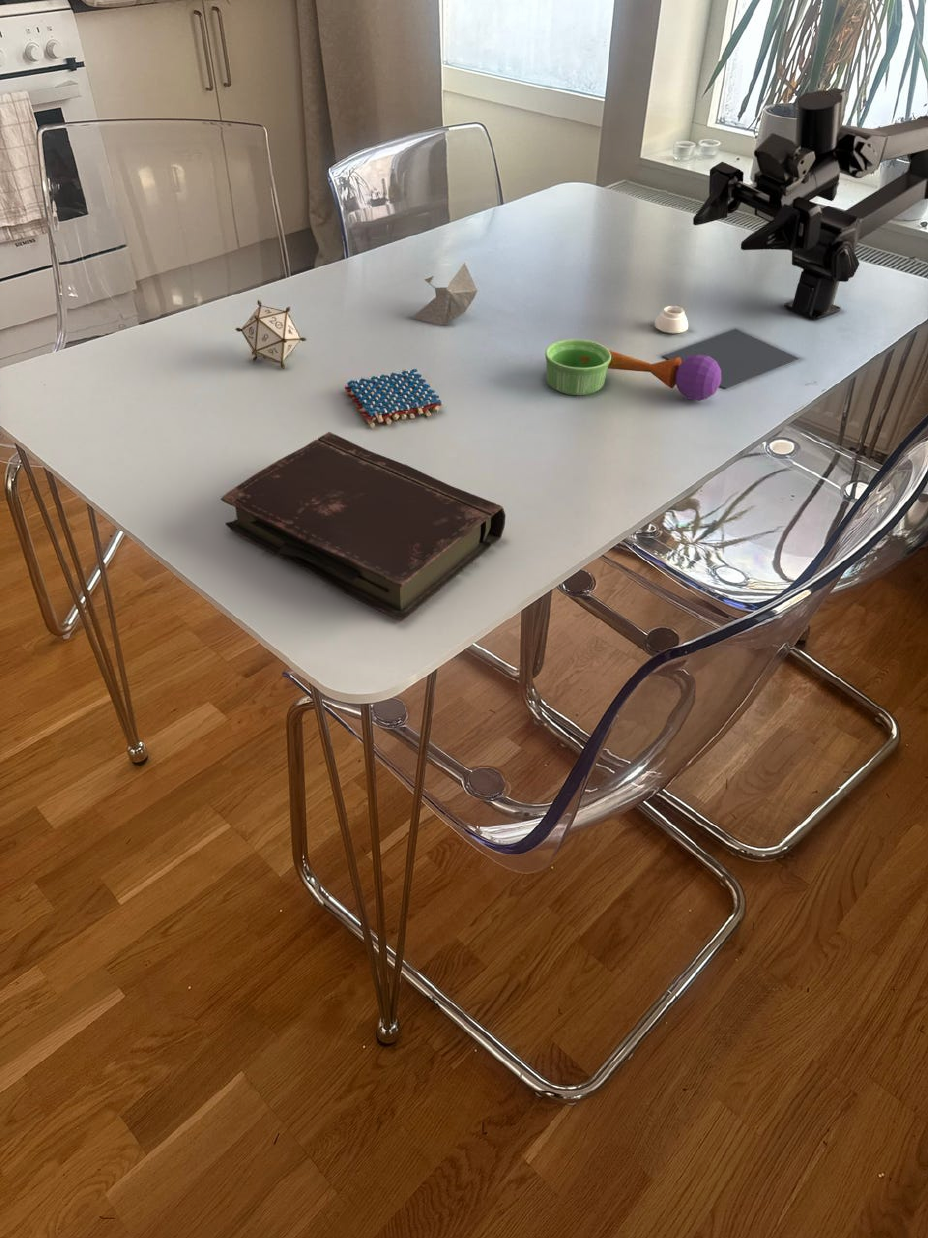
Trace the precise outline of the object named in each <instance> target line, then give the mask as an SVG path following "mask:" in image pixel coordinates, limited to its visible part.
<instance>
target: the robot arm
mask: <svg viewBox="0 0 928 1238" xmlns="http://www.w3.org/2000/svg"><path fill="white" fill-rule="evenodd" d="M846 93H847V91H846V90H845V89H842V88H838V87H835V86H833V87H832V88H830V89H829V90H828V89H827V90H826V89H824V90H823V89H822V90H815V91H811V92H805V93H803V94H801V95H800V96H799V97H798V99H797V101H796V116H795V117H796V118H795V119H796V121H795V139H794V140H795V141H793V140H790V139H789V138H786V137H784V136H781V135H779V134H776V133H774V132H772V133H770V134H769V135H768V136H767V137H766V138H765V139H764V140H763V141H762V142H761V143H760V144H759V146H757V147H756V149H754V150H753V156H754V157H755V158H756V162H757V166H758V171H756V172H754V177H753V183H755V184H756V185H755V186H752V185H750V184H748V183H745V182H744V174H745V173H744V171H742V170H741V169H740V168H737V167H735V166H733V165H731V164H728V163H726V162H724V161H721V162H719V163H717V164H715V165H714V166H712V167H711V168H710V169H709V181H708V182H709V185H708V197H707V199H705V201H704V203H703V204H702V205H701V207H700V208H699V209H698V210H697V212H696V213H695V215H694V216H693V218H692V225H694V226H699V225H704V224H708V223H712V222H716V221H719V220H722V219H725V218H726V219H727V217H728V214H733V213H735V212H736V211H738V209H739V207H740V206H741V204H743V205H746V206H748V207H751V208H753V209H754V213H753V215H754V216H755V217H757V218H760V219H762V220H763V221H765V222H767V223H765V224H764V225H763V226H761V227H759V228H758V229H756V230H755V231H754V232H753V233H751V234H750V235H748V236H747V237H746V238H745V239H743V240H742V241H741V242H740V250H742V251H759V250H761V251H762V250H765V251H766V250H776V251H777V250H781V251H782V250H783V251H790V252H791V266H794V267H798V268H800V269H802V271H801V273H800V276H799V279H798V283H797V284H796V285H797V286H796V288H795V293H794V297H793V299H792V300H789V301H787V302H785V303H784V305H783V307H784V308H786V309H789V310H790V311H793V312H795V313H798V314H800V315H803V316H804V317H807V318H809V319H811V320H814V321H818V320H820V319H823V318H826V317H828V316H831V315H833V314H836V313H838V312H840V311H841V307H840V306H838V305H836V304H834V302H835V299H836V296H837V291H838V288H839V284H840V282H843V283H846V282H847V283H848V282H849V279H851V278H853V277H854V276H855V274H856V272H857V270H858V268H859V266H860V261H859V259H858V257H857V255H856V252H855V251H856V248H857V246H858V243H859V241H861V239H864V238H865V237H867V236H868V235H870V234H872V232H874V231H876V230H877V229H879V228H880V227H883V225H885V224H887V223H888V222H890V221H891V220H893V219H894V218H896V217H898V216H899V215H900V214H902V213H903V212H905V211H908V209H910V208H912V207H913V206H915V205H916V204H917V203H919V202H921V201H922V200H923V201H924V200H928V114H927V115H926V114H925V115H920V116H919V117H917V118H915V119H911V120H906V121H902V122H897V123H894V124H893V123H892V124H889V125H884V126H879V127H875V128H867V127H861V126H856V125H847V124H846V125H845V124H843V120H844V119H843V118H844V109H845V102H846V95H847V94H846ZM901 157H907V159H908V166H907V169H906V171H905V172H904V173H902V174H900V175H899V176H898V177H895V178H894V179H893V180H891V181H890V182H887V183H886V184H885V185H883V186H882V187H880V188H879V189H877V190H876V191H874V192H872V193H871V194H870V195H868V196H866V197H865V198H863V199H861V200H860V201H858V202H857V203H855V204H854V205H852V206H850V207H849V208H847V209H845V210H844V211H843V210H841V209H838V208H835V207H833V206H830V205H826V206H824V207H821V206H820V205H818V204H817V203H815V202H812V201H811V200H813V199H815V198H817V197H819V198H822V199H823V200H827V201H830V202H833V201H834V200H835V198H836V197H837V195H838V194H837V192H838V187H839V185H840V176H841V174H842V175H845V176H847V177H851V178H854V179H862V178H863V177H866V176H868V175H870V174H872V173H875V172H876V171H877V170H878V169H879V168H880V166H881V164H882V163H884V162H886V161H889V160H890V161H891V160H894V159H896V158H897V159H898V158H901Z"/></svg>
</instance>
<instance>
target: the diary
mask: <svg viewBox="0 0 928 1238" xmlns="http://www.w3.org/2000/svg"><path fill="white" fill-rule="evenodd" d="M220 501H222V502H223V503H225V504H227V505H229V506H232V507H233V508H234V509H235V514H236V519H234V520H233V521H229V522H225V525H226V527H228V528H229V530H230V531H232V532H234V533H236V534H237V535H239V536H241V537H243V539H246V540H248V541H249V542H251V543H253V544H255V545H256V546H258V547H260V548H262V549H264V550H266V551H267V552H269V553H271V554H273V555H275V556H278V557H279V558H282V559H283V560H286V561H288V562H290V563H293V564H294V565H296V566H298V567H300V568H303V569H305V570H307V571H308V572H310V573H312V574H313V575H315V576H317V577H318V578H320V579H322V580H324V581H325V582H327V583H328V584H330V585H331V586H333V587H335V588H337V590H340V591H342V592H343V593H345V594H346V595H348V596H350V597H351V598H353V599H355V600H356V601H360V602H362V603H364V604H365V605H368V606H370V607H372V608H374V609H377V610H378V611H381V612H382V613H385V614H387V615H389V616H390V617H393V618H395V619H397V620H399V621H401V622H403V621H404V620H406V619H407V618H408V617H409V616H410V615H412V614H413V613H414V612H415V611H416V610H418V609H419V608H420V607H421V606H422V605H424V603H426V602H427V601H428V600H430V598H432V597H433V596H434V595H436V594H437V593H438V592H439V591H440V590H441V589H442V588H444V587H445V586H446V585H447V584H449V582H451V581H453V579H454V578H456V577H457V576H458V575H459V574H460V573H462V572H463V571H464V570H465V569H466V568H468V567H469V566H470V565H472V564H473V563H474V562H475V561H476V560H477V559H478V558H479V557H481V556H482V555H484V554H485V553H486V552H487V551H488V550H489V549H490V548H491V547H492V546H494V545H495V544H496V543H497V542H498V541H500V540H501V538H502V537H503V534H504V530H505V526H506V511H505V510H504V507H503V506H502V505H501V504H499V503H496V502H493V501H491V500H487V499H485V498H483V497H480V496H478V495H475V494H473V493H470V492H467V491H465V490H463V489H461V488H457V487H455V486H453V485H450V484H448V483H447V482H444V481H441V480H439V479H437V478H435V477H433V476H431V475H429V474H427V473H425V472H423V471H420V470H418V469H416V468H414V467H411V466H409V465H407V464H404V463H401V462H399V461H396V460H394V459H391V458H389V457H387V456H383V455H381V454H378V453H376V452H374V451H371V450H369V449H366V448H364V447H362V446H360V445H359V444H356V443H354V442H351V441H349V440H348V439H345V438H343V437H342V436H339V435H337V434H335V433H333V432H330V431H328V432H326V433H325V434H323V435H321V436H319V437H318V438H317V439H314V440H312V441H311V442H309V443H308V444H306V445H304V446H303V447H301V448H299V449H297V450H295V451H293V452H291V453H290V454H288V455H286V456H284V457H281V458H280V459H278V460H276V461H275V462H273V463H271V464H270V465H268V466H267V467H265V468H263V469H261V470H260V471H258V472H257V473H255V474H253V475H252V476H250V477H249V478H247V479H246V480H244V481H243V482H241V483H239V484H238V485H236V486H235V487H233V488H232V489H231V490H229V491H228V492H226V493H225V494H224V495H223V496H222V497H221V498H220Z"/></svg>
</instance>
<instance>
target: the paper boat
mask: <svg viewBox="0 0 928 1238" xmlns="http://www.w3.org/2000/svg"><path fill="white" fill-rule="evenodd" d="M434 277H435V276H434V275H432V276H430V277H427V278H424V281H425V282H426V283H427V284H429V285H430V286H431V287H433V288H434V292H435V297H434V298H433V299H432V300H431V301H430V302H428V303H427V304H426V305H425V306H423V308H421V309H420V310H419V311H418V312H416V313H415V314H414V315H412V317H411V319H413V320H417V321H422V322H425V323H429V324H434V325H438V326H443V327H444V326H445V325H448V324H449V323H451V322H452V321H454V320H456V319H457V318H458V317H460V316H462V314H465V313H466V311H467V310H468V308H469V307H470V306H471V304H472V302H474V299H475V298H476V295H477V293H478V291H479V290H478V288H477V286H476V284H475V282H474V280H473V277H472V276H471V273H470V271H469V269H468V266H467V265H466V263H465V262H464V263H463V264H462V266H461V267H460V268H459V270H458V271H457V272H456V274H455V275H454V277H453V278H452V280H451V281H450V283H449V284H448V285H447V286H445V287H435V286H434V285H433V284H432V283H431V282H432V280H433V279H434Z"/></svg>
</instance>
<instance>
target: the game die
mask: <svg viewBox="0 0 928 1238" xmlns="http://www.w3.org/2000/svg"><path fill="white" fill-rule="evenodd" d="M257 305H258V307H257V309H256V310H255V311H254V312H253V314H252V315H251V316H250V317H249V319H247V321H246V323H245V324H244V325H243V326H242V328H240V327H236V328H234V329H235V331H236V332H237V333H238V332H239V333H240V332H241V333H242V335H243V337H244V339H245V341H246V343H247V344H248V346H249V347H250V349H251V356H253V357H252V362H255V361H257V360H258V359H262V360H266V361H270V362H275V363H279V364H280V366H281V368H282V369H285V368H286V365H285V361H286V360H287V358H288V357H289V356H290V354H291V353H292V352H293V350H294V349H295V348H296V346H297V345H298V344H299V343H300V341H302V342H306V341H308V339H307V338H306V337H305V336H304V337H301V335H300V334H299V332H298V330H297V328H296V326H295V324H294V322H293V320H292V318H291V315H290V314H289V312H290V311H291V307H290V306H288V307H286V308H285V310H283V309H279V308H274V307H269V306H265V305H262V301H261V300H260V299H257Z"/></svg>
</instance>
